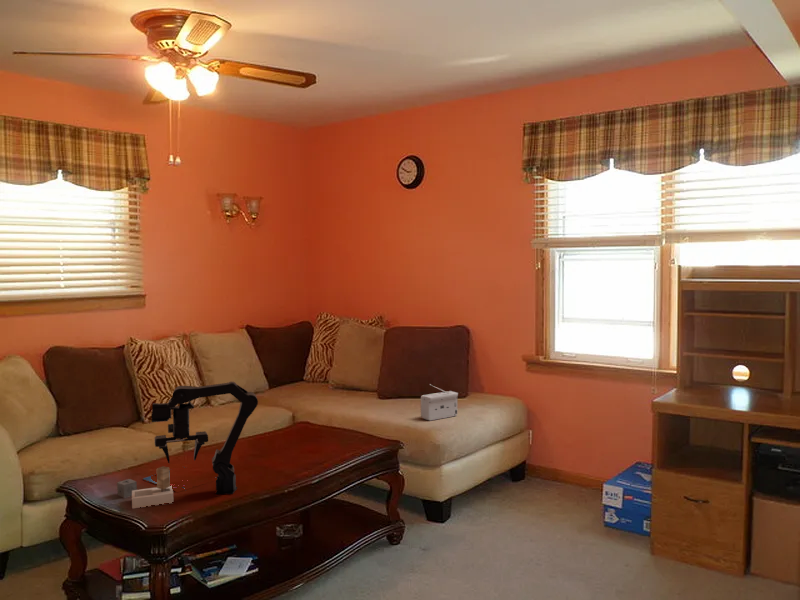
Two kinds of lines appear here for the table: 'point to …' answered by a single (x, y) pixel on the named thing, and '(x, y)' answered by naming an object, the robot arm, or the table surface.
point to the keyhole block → (151, 497)
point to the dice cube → (126, 488)
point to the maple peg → (163, 478)
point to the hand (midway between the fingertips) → (181, 461)
